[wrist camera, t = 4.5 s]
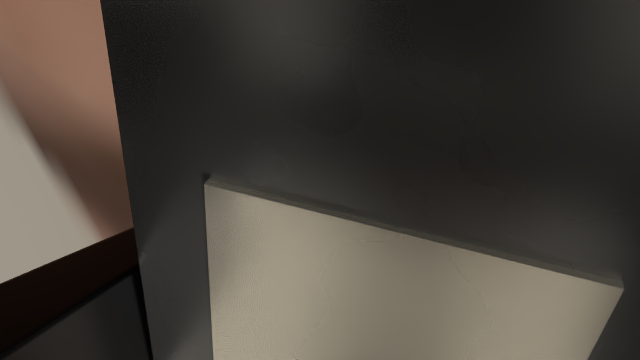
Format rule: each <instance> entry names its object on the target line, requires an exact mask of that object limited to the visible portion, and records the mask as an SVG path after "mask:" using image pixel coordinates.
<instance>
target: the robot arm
mask: <svg viewBox="0 0 640 360" xmlns="http://www.w3.org/2000/svg"><path fill="white" fill-rule="evenodd" d="M0 360H153V353H152V346H151V340H150V333H149V326H148V319H147V313H146V306H145V299H144V292H143V286H142V279H141V272H140V265H139V259H138V252H137V245H136V238H135V231H134V227H133V228H130V229H128V230H126V231H123V232H121V233H118V234H116V235H114V236H111V237H109V238H107V239H104V240H102V241H100V242H97V243H95V244H93V245H90V246H88V247H86V248H83V249H81V250H79V251H76V252H74V253H72V254H69V255H67V256H64V257H62V258H60V259H57V260H55V261H53V262H50V263H48V264H46V265H43V266H41V267H38V268H36V269H34V270H31V271H29V272H27V273H24V274H22V275H20V276H17V277H15V278H13V279H10V280H8V281H5V282H3V283H1V284H0Z"/></svg>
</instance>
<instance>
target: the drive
mask: <svg viewBox="0 0 640 360" xmlns="http://www.w3.org/2000/svg"><path fill="white" fill-rule="evenodd" d="M100 2H101V9H102V15H103V22H104V29H105V36H106V42H107V49H108V56H109V63H110V69H111V76H112V83H113V90H114V96H115V103H116V110H117V117H118V123H119V130H120V137H121V144H122V150H123V157H124V164H125V171H126V177H127V184H128V191H129V198H130V204H131V211H132V218H133V225H134V231H135V238H136V245H137V252H138V259H139V265H140V272H141V279H142V286H143V292H144V299H145V306H146V313H147V319H148V326H149V333H150V340H151V346H152V353H153V360H640V0H100Z"/></svg>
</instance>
